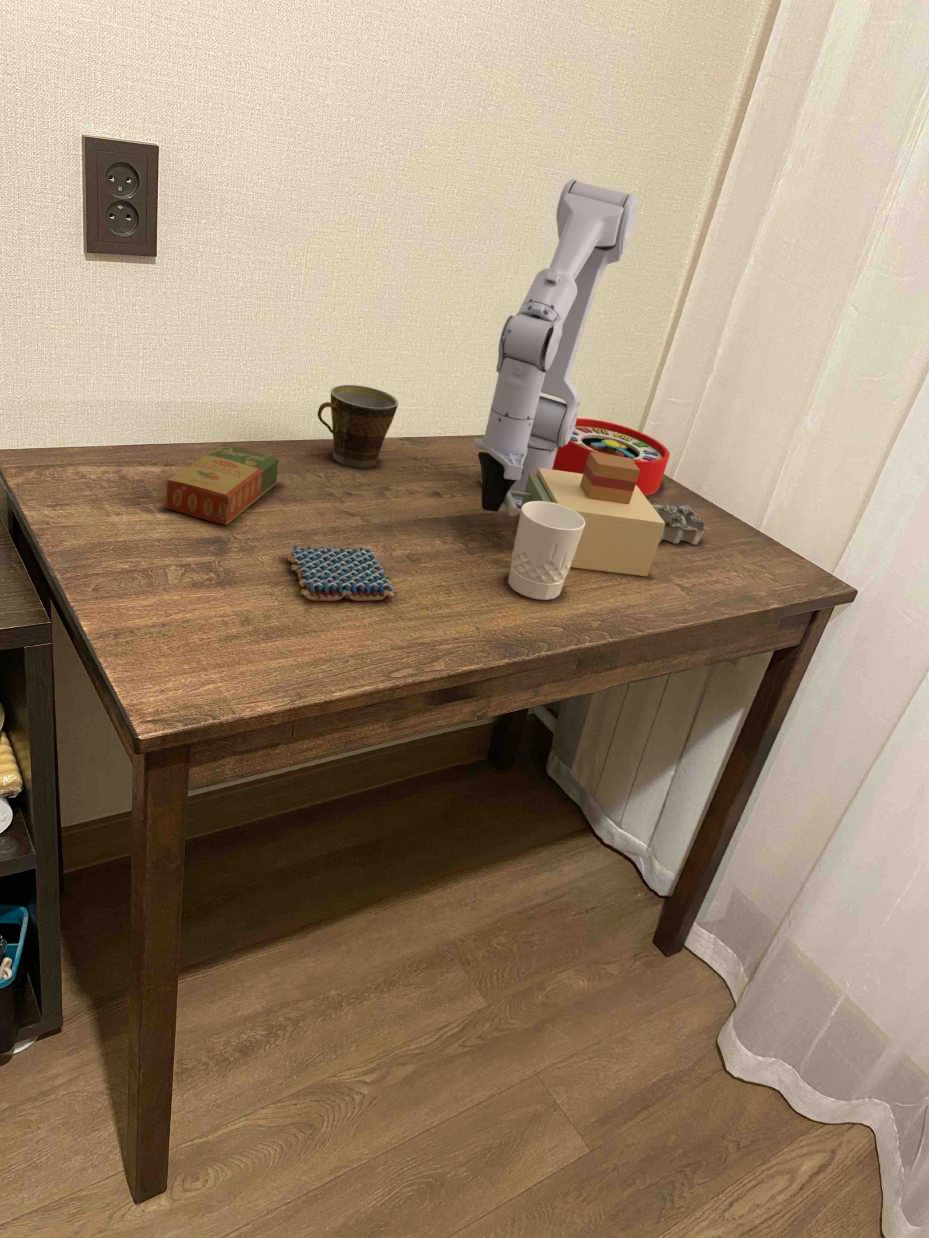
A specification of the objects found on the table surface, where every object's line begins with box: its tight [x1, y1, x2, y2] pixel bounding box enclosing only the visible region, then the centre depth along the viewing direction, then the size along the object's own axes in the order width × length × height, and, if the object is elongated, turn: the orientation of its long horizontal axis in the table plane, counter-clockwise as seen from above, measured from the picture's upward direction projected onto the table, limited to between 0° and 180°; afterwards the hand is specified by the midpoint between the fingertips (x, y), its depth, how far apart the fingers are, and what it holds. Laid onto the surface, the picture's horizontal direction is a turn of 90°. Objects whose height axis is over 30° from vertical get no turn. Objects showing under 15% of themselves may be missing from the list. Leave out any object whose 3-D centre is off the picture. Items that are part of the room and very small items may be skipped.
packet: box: [580, 452, 640, 504], centre depth 123 cm, size 6×4×5 cm
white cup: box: [507, 501, 585, 601], centre depth 112 cm, size 8×8×10 cm
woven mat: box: [287, 545, 395, 602], centre depth 105 cm, size 10×11×2 cm
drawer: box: [502, 474, 553, 518], centre depth 126 cm, size 18×13×6 cm
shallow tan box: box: [536, 468, 665, 577], centre depth 127 cm, size 15×14×8 cm
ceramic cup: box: [317, 384, 399, 469], centre depth 136 cm, size 13×10×10 cm
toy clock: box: [552, 417, 671, 496], centre depth 157 cm, size 20×6×20 cm
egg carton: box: [651, 503, 710, 545], centre depth 138 cm, size 11×8×4 cm
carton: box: [164, 443, 279, 526], centre depth 117 cm, size 8×16×4 cm, turn 168°
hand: (489, 508), depth 123 cm, fingers closed
